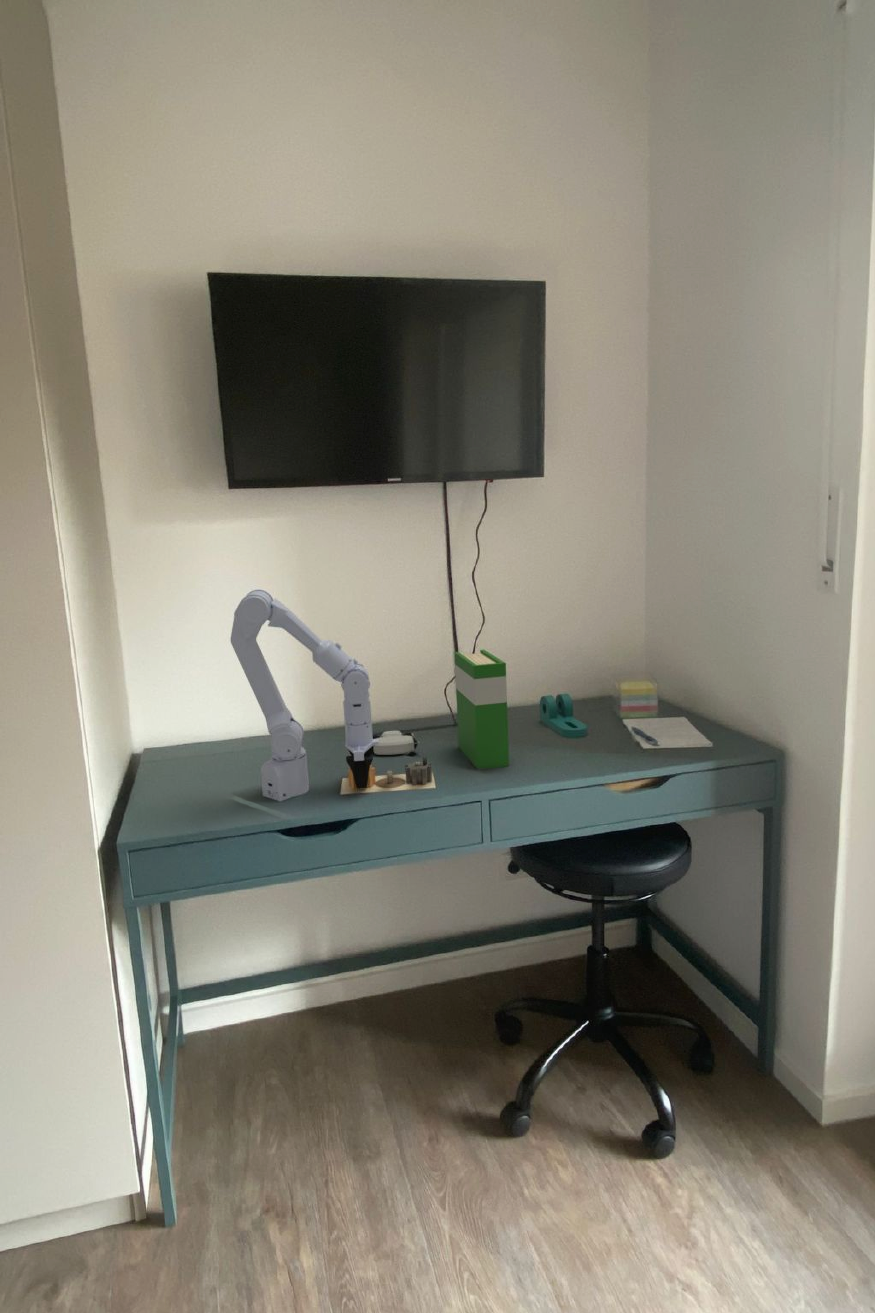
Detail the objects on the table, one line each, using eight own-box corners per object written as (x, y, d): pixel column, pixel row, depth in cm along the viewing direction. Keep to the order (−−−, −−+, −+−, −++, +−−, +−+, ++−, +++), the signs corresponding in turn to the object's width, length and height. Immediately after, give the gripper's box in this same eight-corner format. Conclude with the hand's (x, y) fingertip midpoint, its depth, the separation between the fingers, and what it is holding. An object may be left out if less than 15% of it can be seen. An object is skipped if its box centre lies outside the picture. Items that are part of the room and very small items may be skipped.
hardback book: (458, 747, 202) (454, 652, 198) (487, 744, 204) (484, 649, 199) (477, 769, 185) (473, 666, 181) (509, 765, 187) (505, 663, 182)
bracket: (540, 721, 222) (539, 693, 220) (563, 719, 223) (562, 691, 222) (566, 740, 205) (565, 709, 203) (591, 736, 206) (590, 706, 205)
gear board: (340, 798, 171) (338, 771, 170) (342, 782, 181) (341, 756, 180) (435, 792, 172) (434, 764, 171) (433, 776, 182) (431, 750, 181)
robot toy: (367, 748, 208) (369, 762, 193) (366, 730, 208) (368, 743, 193) (415, 744, 210) (420, 758, 195) (414, 727, 209) (419, 739, 194)
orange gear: (361, 790, 172) (360, 775, 171) (343, 785, 176) (342, 770, 175) (381, 783, 176) (380, 767, 176) (362, 778, 180) (361, 762, 179)
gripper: (376, 730, 166) (380, 793, 169) (377, 711, 181) (380, 770, 183) (342, 732, 166) (346, 795, 169) (345, 713, 180) (349, 772, 183)
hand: (362, 782), depth 176 cm, fingers closed on orange gear, 6 cm apart
